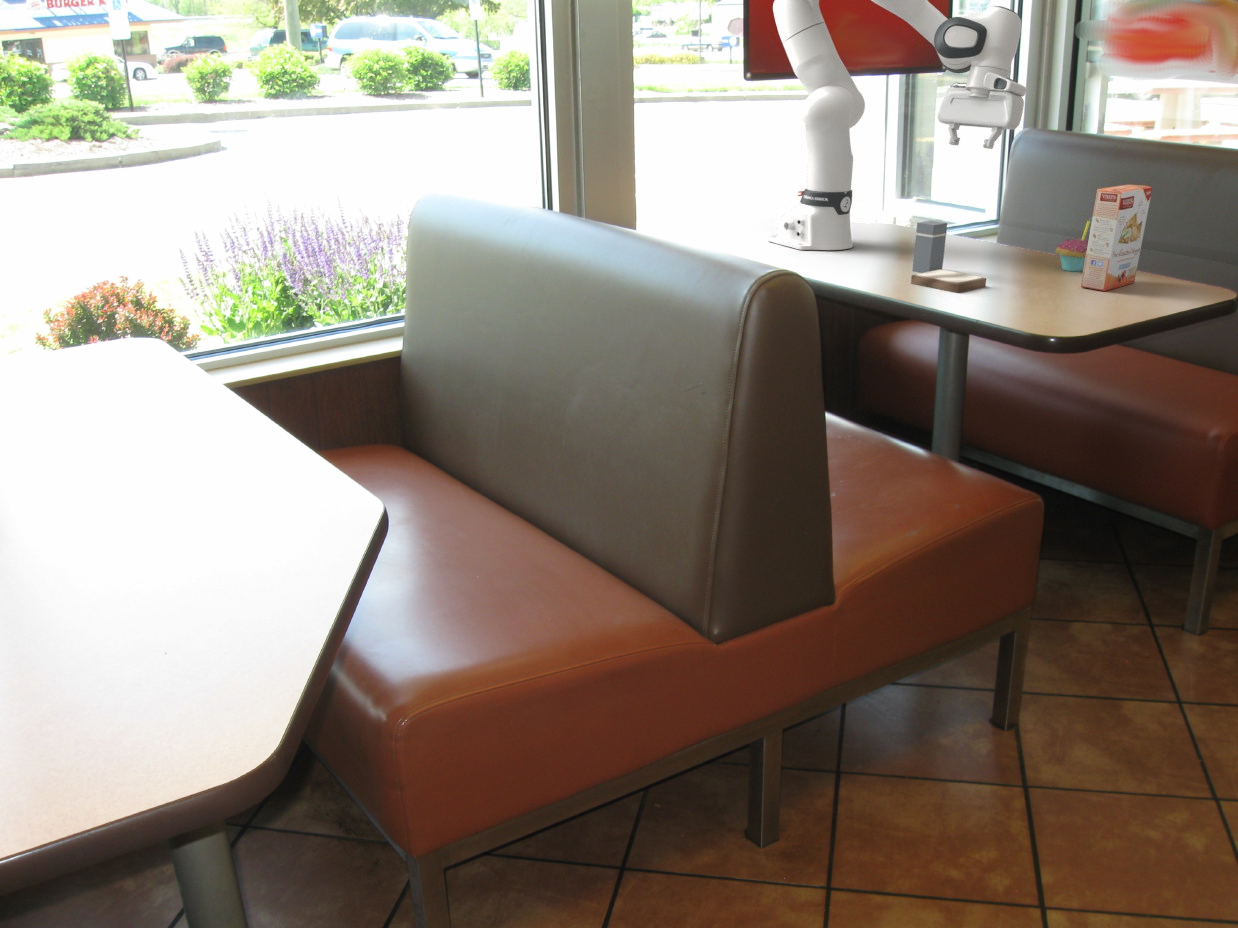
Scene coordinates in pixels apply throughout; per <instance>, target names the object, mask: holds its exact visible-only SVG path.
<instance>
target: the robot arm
mask: <svg viewBox="0 0 1238 928" xmlns="http://www.w3.org/2000/svg"><path fill="white" fill-rule="evenodd" d="M870 1H871V2H873V3H874V4H876V5H878V6H880V7H881V8H882V9H885V10H887V11H888V12H890V13H891V14H894V15H896V16H897V17H899V18H901V19H902V20H903V21H905V22H906V23H908V25H910V26H911V27H912V28H913V29H914V30H915V31H916V32H917V33H919V34H920V35H921V36H922V37H923V38H924V39H925V40H926V41H928V43H930V45H932V47H933V48H934V49H935V51H936V53H937V55H938V58H939V61H940V63H941V65H942V66H943V67H944V68H945V70H947V71H948V72H951V73H953V74H965V73H967V72H968V76H967V80H966V82H962V83H961V82H953V83H952V84H950V85H949V87H947V89H946V92H945V95H944V98H943V100H942V103H941V105H940V108H939V111H938V113H937V120H938V121H939V123H941V124H944V125H948V133H949V136H950V138H949V140H948V141H949V142H948V144H949V145H951V146H959V144H960V141H961V137H958V132H957V131H959V130H960V126H965V127H976V128H987V129H988V128H989V129H991V130H990V132H992V133H991V134H990V136H989V137H988V138H987V139H985V138H984V141H983V142H984V143H983V146H982V147H983V148H984V149H988V150H993V149H994V145H995V142H996V141H997V140H998V139H999V137H1001V135H1002V133H1003V130H1012V131H1013V130H1017V128H1018V127H1019V125H1020V124H1021V120H1022V116H1023V112H1024V105H1025V102H1024V98H1023V97H1024V96H1025V95H1026V93H1027V87H1026V86H1024V85H1022V84H1020V83H1018V82H1016V81H1015V80H1014V79H1011V78H1010V76H1011V72H1012V70H1011V69H1012V62H1013V60H1014V58H1015V56H1016V53H1017V51H1018V46H1019V42H1020V38H1021V33H1022V19H1021V18H1020V15H1019V14H1018V13H1017V12H1015V11H1014V10H1012V9H1010V8H1008V7H1005V6H999V5H992V6H989V7H988V8H987V9H984V10H982V11H980V12H976V13H973V14H970V15H968V14H967V15H963V16H954V17H950V18H947V17H946V16H945V15H944V14H943V13H942V12H941V11H940V10H939V9H937V8H936V7H935V6H934V5H933V4H932V3H930V1H929V0H870ZM772 11H773V17H774V20H775V24H776V27H777V28H776V29H777V32H778V35H779V38H780V40H781V43H782V46H783V48H784V51H785V54H786V56H787V59H788V60H789V63H790V65H791V68H792V71H793V73H794V74H795V76H796V77H797V79H798V80H799V81H800V82H801V84H802V85H803V87H804V88H805V89H806V92H807V93H808V97H807V98H806V99H805V100H804V103H803V104H802V110H801V115H802V120H803V122H804V125H805V137H806V145H807V176H806V187H805V189H804V190H801V191H800V190H799V191H797V193H799V194H797V197H801V198H800V201H799V204H797V205H796V206H795V207H793V208H792V209H791V210H790V211H788V212H787V213H785V214H784V215H783V216H782V217H781V218H780V220H779V223H778V227H777V234H773V235H771V236H768V239H767V241H768V242H770V243H774V244H777V245H781V246H784V247H789V248H793V249H797V250H802V251H806V250H809V251H812V250H813V251H814V250H815V251H838V250H839V251H840V250H847V249H851V248H853V247H854V244H853V240H852V239H853V238H852V232H851V214H850V213H851V208H852V203H853V190H852V181H853V179H852V178H853V169H854V156H853V152H852V147H851V133H850V132H851V131H850V129H851V128H853V127H855V126H856V124H858V123H859V122H860V120H861V119H862V116H863V115H864V112H865V108H866V106H865V105H866V102H865V98H864V96H863V94H862V93H861V92H860V91H859V89H858V87H857V86H856V83H855V82H854V80H853V78H852V76H851V75H850V73H849V71H848V69H847V67H846V66H845V64H844V63H843V61H842V58H841V57H840V55H839V53H838V51H837V48H836V47H835V44H834V41H833V40H832V36H831V34H830V32H829V29H828V26H827V24H826V22H825V19H824V16H823V14H822V12H821V8H820V0H774V1H773V5H772Z"/></svg>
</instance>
